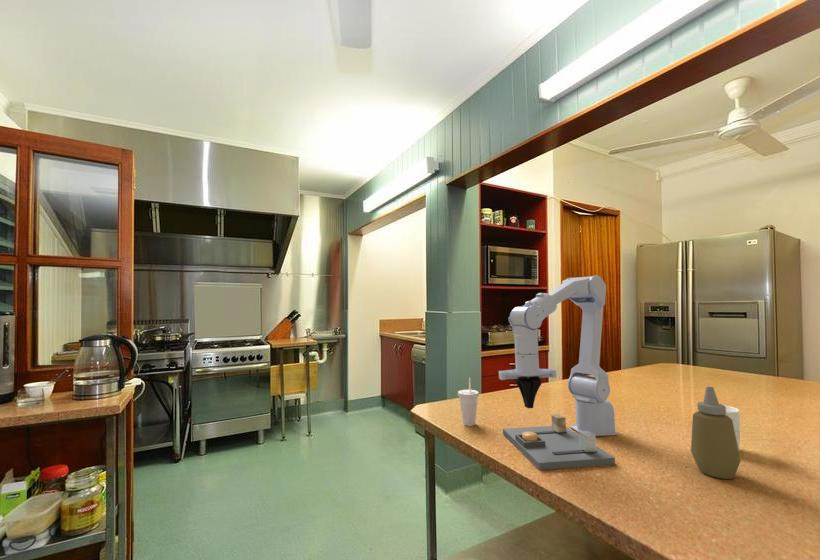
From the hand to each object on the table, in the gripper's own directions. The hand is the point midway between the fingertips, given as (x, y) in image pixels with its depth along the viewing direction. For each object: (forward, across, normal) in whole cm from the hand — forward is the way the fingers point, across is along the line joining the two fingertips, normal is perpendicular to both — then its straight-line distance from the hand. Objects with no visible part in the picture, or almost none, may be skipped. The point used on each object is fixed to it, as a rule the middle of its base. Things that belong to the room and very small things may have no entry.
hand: (528, 407), depth 91 cm
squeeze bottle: (+11, -33, +18) cm, 39 cm away
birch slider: (+8, -11, -6) cm, 15 cm away
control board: (+10, -6, 0) cm, 12 cm away
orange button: (+9, 0, 0) cm, 9 cm away
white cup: (+11, -46, +7) cm, 48 cm away
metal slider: (+8, -11, +7) cm, 15 cm away
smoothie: (+11, +10, -21) cm, 26 cm away
